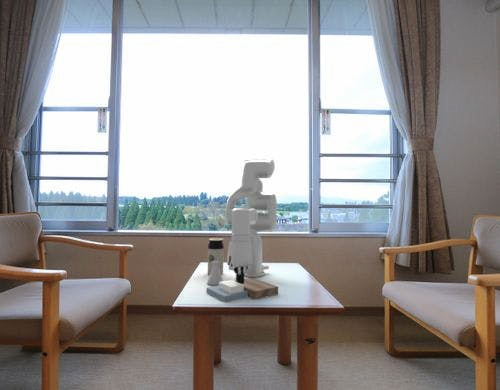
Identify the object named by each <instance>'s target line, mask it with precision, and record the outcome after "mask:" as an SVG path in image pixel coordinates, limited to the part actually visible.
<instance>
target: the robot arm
mask: <svg viewBox="0 0 500 390" xmlns="http://www.w3.org/2000/svg"><path fill="white" fill-rule="evenodd" d="M240 169H241V171H240V176H239V177H240V178H239V185H238V187H237V188H236V189H235V190H234V191H233V192H231V193H230V195H229V197H228V198H227V200H226V203H225V210H224V220H225V222H226V223H227V224H228V225H231V241H229V243H228V248H227V257H226V264H227V266H228V270H229V271H233V272H234V274H235V280H236V282H238V283H240V284H244V279H245V277H246V278H260V277H264V276H265V274H266V272H265V270H269V269H270V266H269V265H264V264H263V240H262V237H261V236H260V234H259V233H261V232H262V233H273V232H274V231H275V230H276V228H277V206H278V205H277V197H276V195H275V193H272V192H263V190H264V189H263V181H262V180H261V179H270V178H271V177H272V175H273V173H274V171H275V161H274V159H273V158H271V157H249V158H244V159H242V160H241V161H240ZM243 199H245V205H246V207H241V206H239V207H235V205H236V204H237V203H238V202H239V201H241V200H243ZM259 211H260V212H259ZM261 211H262V212H265V211H266V212H267V213H261Z"/></svg>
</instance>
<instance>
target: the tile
mask: <svg viewBox="0 0 500 390" xmlns="http://www.w3.org/2000/svg"><path fill="white" fill-rule="evenodd" d="M218 286H219V288H220V289H222V290H224V291H226V292H229V293H237V292H242V291H244V285H243V284H240V283H238V282H235V280H234V279H233V280H232V279H230V280H229V279H228V280H223V281H222V282H219V285H218Z"/></svg>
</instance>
